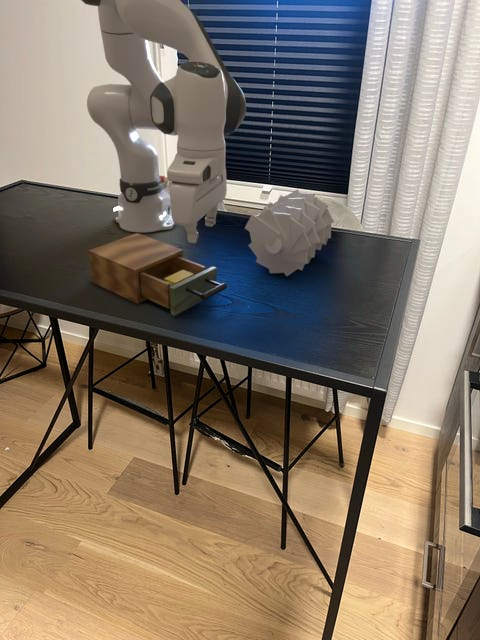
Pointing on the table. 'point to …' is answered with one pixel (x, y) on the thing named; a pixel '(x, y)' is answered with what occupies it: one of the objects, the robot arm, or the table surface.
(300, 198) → the spiral staircase
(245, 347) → the table surface
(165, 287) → the drawer
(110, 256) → the cabinet
